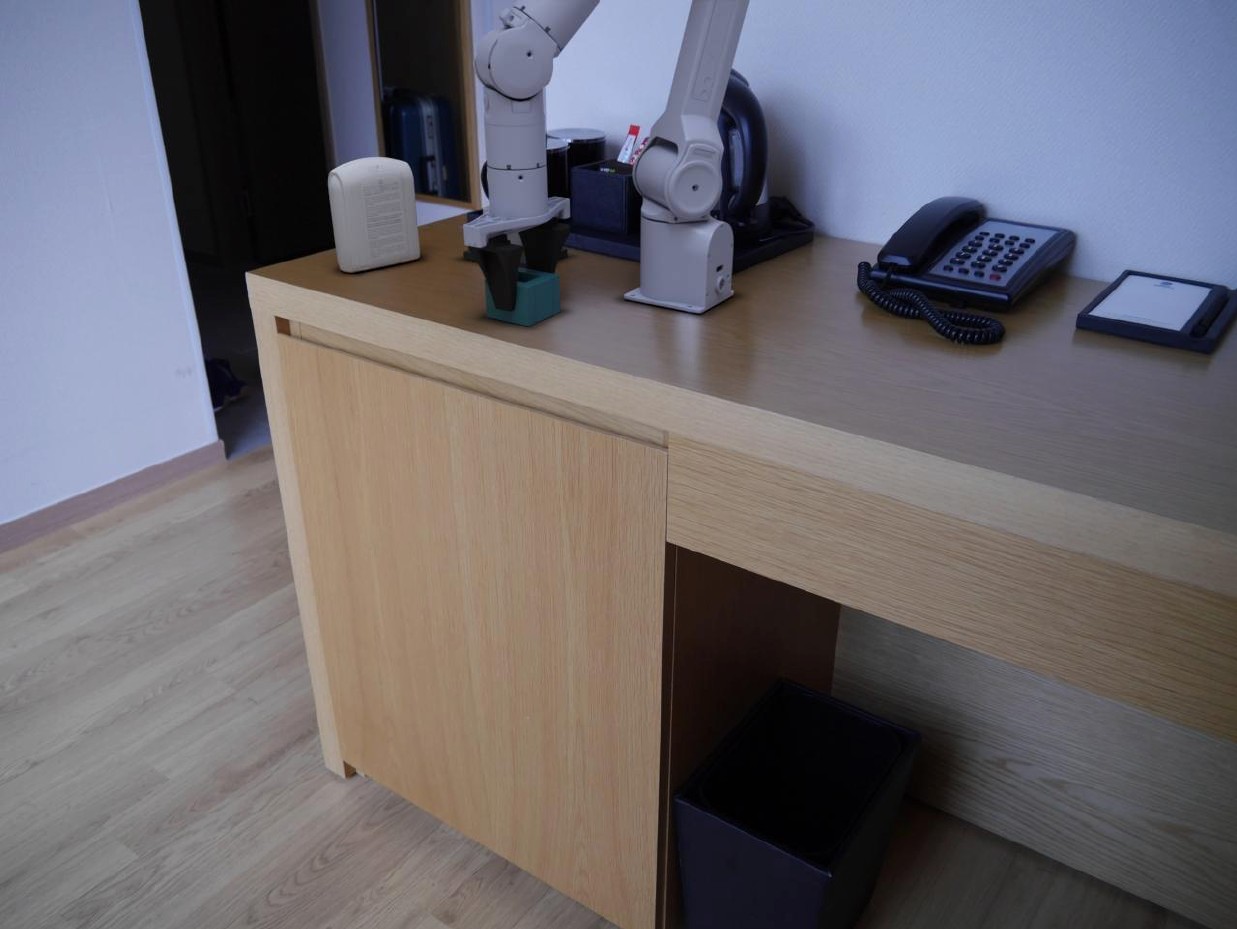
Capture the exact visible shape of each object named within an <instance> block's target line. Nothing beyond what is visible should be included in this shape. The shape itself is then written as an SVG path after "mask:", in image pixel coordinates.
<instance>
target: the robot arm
mask: <svg viewBox="0 0 1237 929" xmlns="http://www.w3.org/2000/svg"><path fill="white" fill-rule="evenodd" d="M750 1H751V0H691V4H690V7H689V8H690V9H689V11H688V17H687V20H686V25H685V28H684V33H683V37H682V41H681V45H680V49H679V53H678V56H677V61H676V64H675V65H676V66H675V70H674V73H673V78H672V81H671V86H670V89H669V95H668V98H667V103H666V107H665V110H664V111H663V112H662V114H661V116H659V117H658V119H656V121H655V122H654V123H653V125H652V126H651V128H650V130H649V136H648V139H647V141H646V142H645V145H644V147H643V148H642V149H641V150H640V151H639V153H638V154H637V155H636V158H635V160H634V162H633V166H632V174H631V175H632V182H633V185H634V187H635V189H636V191H637V192H638V194H639V195H640V196H641V197H642V205H641V208H640V256H639V257H640V258H639V259H640V260H639V263H640V268H639V271H640V272H639V273H640V274H639V287H637V288H634V289H633V290H629V291H628V292H625V293H623V294H624V295H623V298H624V299H625V300H628V301H634V302H639V303H643V304H649V305H653V306H659V307H664V308H669V309H674V310H678V311H684V312H689V313H694V314H703V313H704V312H706V311H708V310H709V309H711V308H713V307H715V306H716V305H718V304H721V302H724V301H725V300H727V299H728V298H730V297H733V296H734V295H735V291H734V290H733V289H732V277H733V263H734V262H733V261H734V260H733V259H734V233H733V228H732V226H731V225H730V224H729V223H728V222H725V221H722V220H719V219H716V218H714V217H713V216H711V211H712V210H713V209H714V208H715V207H716V205H717V204H718V202H719V200H720V198H721V195H722V191H723V176H722V170H721V168H722V159H723V154H724V151H725V147H724V144H723V140H722V136H721V134H720V131H719V128H718V121H719V117H720V114H721V110H722V106H723V102H724V98H725V96H726V91H727V87H728V84H729V79H730V75H731V72H732V69H733V64H734V61H735V57H736V54H737V49H738V46H739V43H740V39H741V35H742V31H743V27H744V24H745V19H746V15H747V12H748V8H749V5H750ZM600 2H601V0H516V2H515V3H514V4H513V6H512V7H511V8H510V9H509V8H503V10H502V11H501V13H500V14H499V15H498V18H499V20H500V21H501V22H502V27H497V28H495V29H491V30H490V31H489V32H487V33H486V34H485V35H483V37H482V38H481V40H480V41H479V43H478V44H477V48H476V51H475V53H476V56H475V58H474V59H473V60H472V67H473V70H474V73H475V76H476V78H477V79H478V81H479V82H480V83H481V84H482V86H483V106H484V113H483V123H484V124H483V125H484V126H483V127H484V142H485V157H486V158H485V159H486V171H487V172H486V174H487V186H488V187H487V190H488V202H489V203H488V204H489V205H487V206H484V207H483V208H482V214H481V215H480V216H479V217H477V218H475V219H474V220H472V221H469V222H468V223H464V224H463V225H462V230H463V231H462V232H463V243H464V244H463V245H464V246H467V250H469V251H470V252H471V254H472V255H473V256H474V258H475V260H476V261H477V262H476V263H477V264H478V266H479V268H480V270H481V272H482V274H483V276H484V280H485V279H486V281H487V284H488V287H489V290H490V293H491V296H492V299H493V302H494V305H495V308H496V309H499V310H504V311H508V312H512V311H514V310H515V306H516V298H517V275H518V268H519V263H520V259H521V256H522V253H523V250H524V253H525V258H526V264H527V269H532V270H537V271H542V272H547V273H552V274H556V269H557V266H558V262H559V260H558V259H559V256H560V253H561V251H562V248H564V246H565V244H566V242H567V240H568V238H569V237H570V235H571V226H570V224H567V223H561V222H559V219H561V220H566V219H569V218H571V199H570V198H566V197H559V196H552V197H549V195H548V168H547V167H548V166H547V165H548V164H547V140H546V139H547V138H546V136H547V134H546V114H545V106H544V105H545V104H544V102H545V101H544V88H545V87H547V86H548V85H549V84H550V82H551V79H552V77H553V71H554V59H555V58H558V57H559V56H560V54H561V53H562V52H563V50H564V49H565V47H567V45H568V44H569V43H570V42H571V40H572V39H573V37H574V36H575V35H576V33H577V32H578V31H579V30H580V29H581V27H582V26H583V24H584V23H585V22H586V21H587V19H588V18H589V17H590V16H591V14H592V13H593V12H594V10H595V9H596V8H597V6H598V5H599V4H600ZM517 232H518V234H519V236H520V239H521V242H522V245H523V246H522V245H516V244H511V241H510V240H507V238H508V237H507V236H509V235H512V234H514V233H517Z"/></svg>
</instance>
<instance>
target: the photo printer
mask: <svg viewBox="0 0 1237 929" xmlns="http://www.w3.org/2000/svg"><path fill="white" fill-rule="evenodd" d="M327 187H328V195H329V204H330V213H331V219H332V220H331V221H332V227H333V236H334V243H335V251H336V258H337V264H338V266H339V270H341V271H343V272H345V273H350V274H351V273H356V272H361V271H368V270H371V269H377V268H381V267H386V266H391V265H397V264H400V263H406V262H410V261H416V260H418V259H419V258H420V257H421V248H420V239H419V238H420V237H419V227H418V216H417V214H418V213H417V205H416V204H417V203H416V193H415V180H414V175H413V171H412V169H411V166H410V165H409V163H408V162H406V161H404V160H400V159H396V158H391V157H386V156H385V157H384V156H370V157H369V156H368V157H362V158H357V159H354V160H351V161H348V162H345V163H342V164H341V165H339V166H337V167H335V168H334V169H332V170H330V172H329V173H328V178H327Z"/></svg>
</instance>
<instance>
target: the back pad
mask: <svg viewBox="0 0 1237 929" xmlns="http://www.w3.org/2000/svg"><path fill="white" fill-rule="evenodd" d="M507 240H510V241H511V244H516V245H522V242H521V239H520V236H519V234H518V232H517V233H514V234H512V235H509V236H507ZM522 246H523V245H522ZM568 252H569V251H568V248H566V247H563V248H562V251H561V253H560V256H559V259H558V261H560V260H562V259H566V258H567V257H568V255H569V253H568ZM462 255H463V257H462V258H463V260H465V261H471V262H476V263H477V261H476V260H475V258H474V256H473V255H472V254H471V252H470V251H469V250H468V249H467V250H463V252H462ZM519 267H521V268H526V269H527V264H526V258H525V253H524V250H523V253H522V256H521V259H520V263H519Z"/></svg>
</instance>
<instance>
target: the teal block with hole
mask: <svg viewBox="0 0 1237 929" xmlns="http://www.w3.org/2000/svg"><path fill="white" fill-rule="evenodd" d="M484 291H485V293H484V294H485V305H486V306H485V307H486V318H489V319H494V320H498V321H503V322H507V323H511V324H515V325H520V326H524V327H531V326H533V325H535V324H538V323H539V322H542V321H543V320H546V319H548V318H551V317H552V316H555V315H557V314H559V313H561V294H560V292H561V290H560V274H557V273H555V274H552V273H547V272H542V271H537V270H532V269H526V268H521V267H519V268H518V275H517V298H516V306H515V310H514V311H512V312H508V311H504V310H499V309H496V308H495V305H494V302H493V299H492V296H491V293H490V290H489V287H488V284H487V281H486V279H485V278H484Z"/></svg>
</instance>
